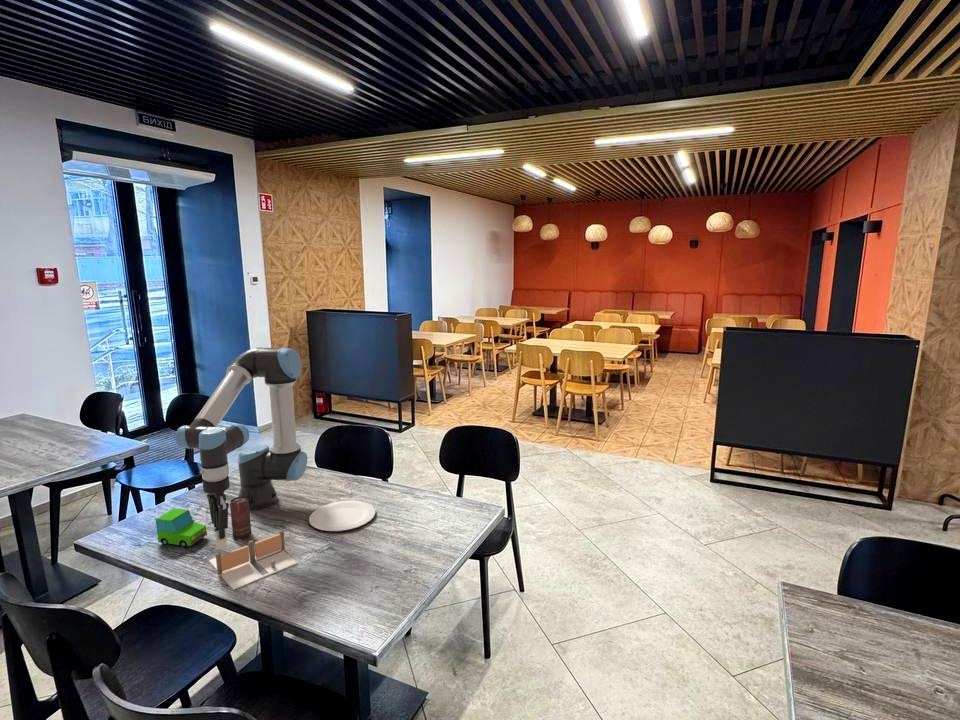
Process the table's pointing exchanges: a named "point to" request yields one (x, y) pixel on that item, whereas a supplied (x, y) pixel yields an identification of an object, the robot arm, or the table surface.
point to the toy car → (179, 528)
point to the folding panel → (232, 559)
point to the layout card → (256, 568)
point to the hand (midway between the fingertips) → (221, 546)
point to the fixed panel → (266, 546)
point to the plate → (342, 516)
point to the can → (240, 518)
